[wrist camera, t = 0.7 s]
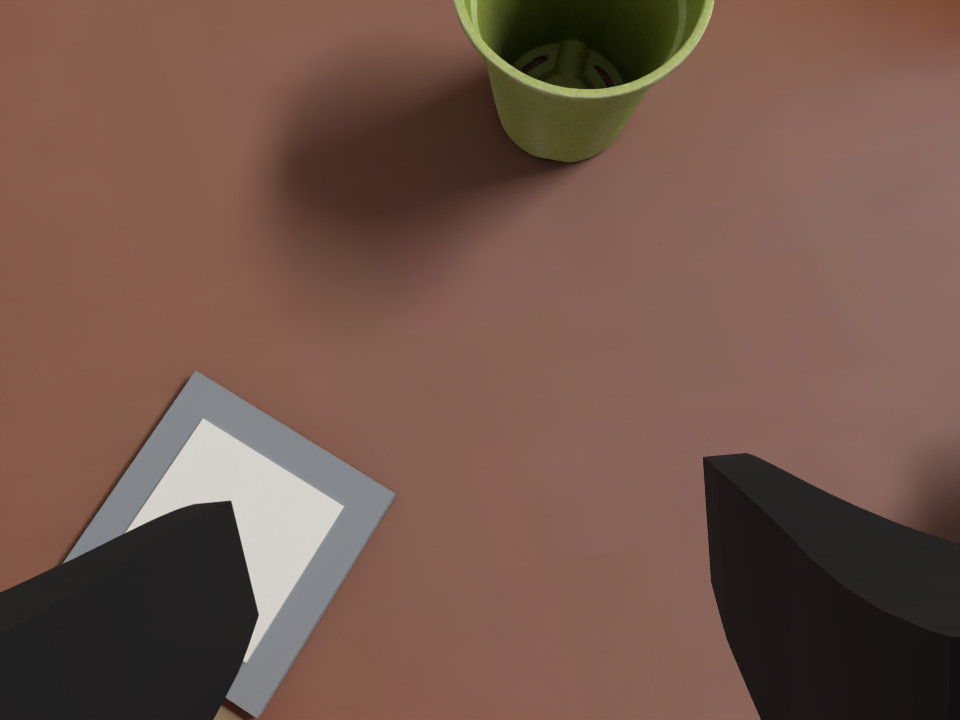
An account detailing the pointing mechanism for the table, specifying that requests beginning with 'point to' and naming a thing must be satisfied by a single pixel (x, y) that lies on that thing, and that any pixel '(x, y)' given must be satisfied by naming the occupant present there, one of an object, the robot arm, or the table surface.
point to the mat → (253, 515)
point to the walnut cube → (226, 714)
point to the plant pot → (577, 64)
